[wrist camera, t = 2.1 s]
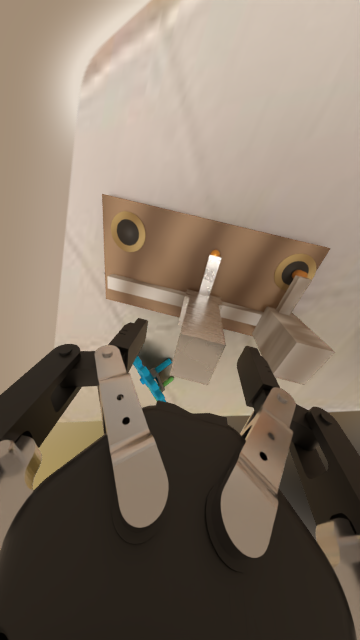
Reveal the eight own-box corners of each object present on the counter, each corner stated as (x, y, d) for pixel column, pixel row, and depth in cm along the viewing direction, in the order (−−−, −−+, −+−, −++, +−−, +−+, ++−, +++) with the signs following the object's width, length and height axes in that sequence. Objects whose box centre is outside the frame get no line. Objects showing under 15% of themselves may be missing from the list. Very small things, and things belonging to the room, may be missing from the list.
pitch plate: (320, 247, 17) (432, 260, 9) (267, 334, 23) (303, 393, 15) (109, 196, 18) (22, 163, 9) (111, 295, 24) (59, 329, 15)
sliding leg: (234, 254, 17) (267, 278, 8) (210, 321, 21) (213, 386, 12) (197, 245, 17) (188, 258, 8) (181, 313, 21) (163, 373, 12)
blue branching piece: (118, 345, 26) (145, 384, 19) (148, 328, 29) (182, 356, 22) (140, 383, 33) (166, 423, 25) (163, 366, 35) (193, 398, 28)
